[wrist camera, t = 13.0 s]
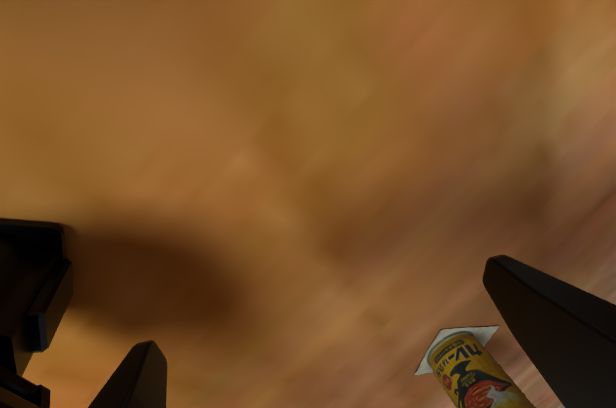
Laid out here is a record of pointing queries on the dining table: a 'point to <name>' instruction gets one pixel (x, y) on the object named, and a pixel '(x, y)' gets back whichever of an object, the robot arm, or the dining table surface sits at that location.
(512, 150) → the dining table surface
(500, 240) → the dining table surface
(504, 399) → the condiment
